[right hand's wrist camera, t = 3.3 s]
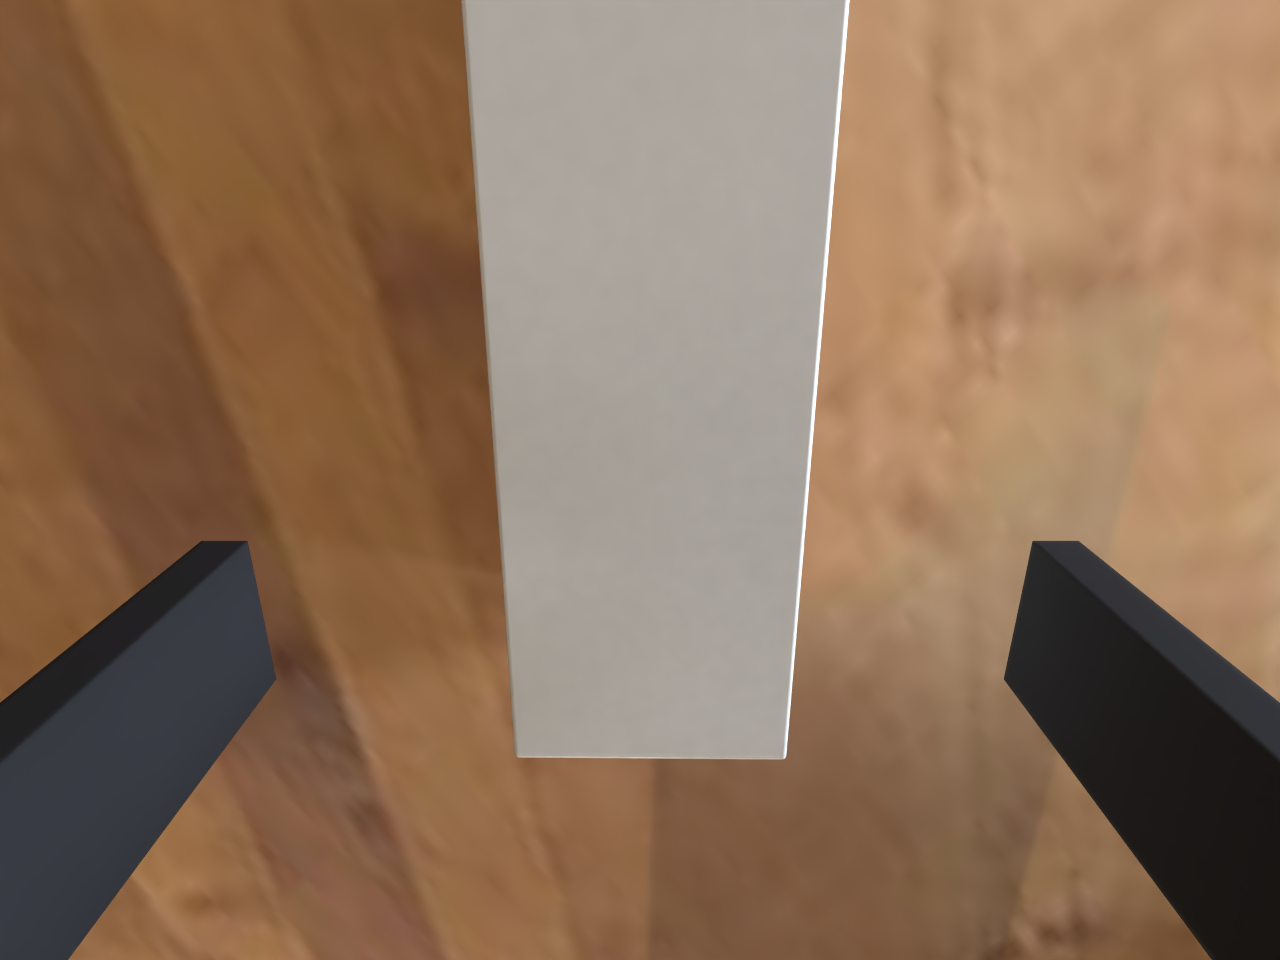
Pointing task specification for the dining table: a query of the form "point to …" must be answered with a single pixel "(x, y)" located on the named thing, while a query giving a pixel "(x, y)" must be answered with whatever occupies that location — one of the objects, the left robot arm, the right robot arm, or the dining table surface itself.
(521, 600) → the bar
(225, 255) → the dining table surface
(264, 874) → the dining table surface
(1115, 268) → the dining table surface
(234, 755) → the dining table surface
